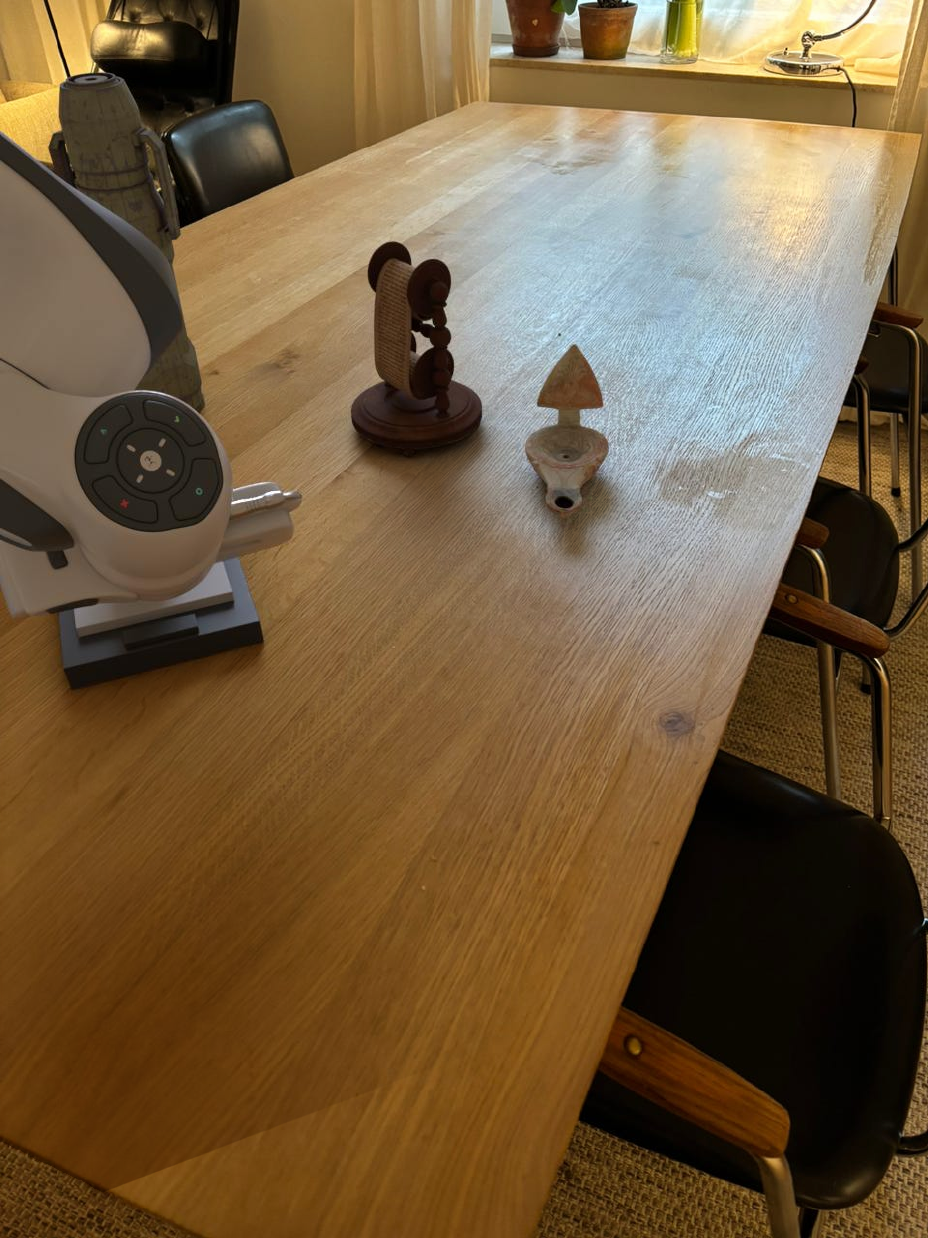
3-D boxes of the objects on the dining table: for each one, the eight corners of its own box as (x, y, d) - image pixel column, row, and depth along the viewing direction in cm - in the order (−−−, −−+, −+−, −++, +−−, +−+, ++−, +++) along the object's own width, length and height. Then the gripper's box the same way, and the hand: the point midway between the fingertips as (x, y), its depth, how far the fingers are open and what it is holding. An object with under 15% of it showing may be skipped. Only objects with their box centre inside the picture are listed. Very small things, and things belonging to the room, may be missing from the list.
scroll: (327, 424, 114) (306, 249, 101) (427, 384, 121) (420, 215, 108) (405, 476, 105) (393, 291, 92) (509, 429, 112) (511, 252, 99)
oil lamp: (607, 428, 112) (614, 344, 105) (605, 538, 96) (613, 448, 89) (530, 424, 113) (533, 342, 106) (515, 533, 97) (517, 444, 90)
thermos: (130, 388, 121) (47, 67, 99) (225, 389, 121) (163, 66, 98) (106, 424, 115) (11, 89, 92) (206, 425, 114) (136, 88, 91)
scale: (71, 690, 81) (59, 659, 79) (59, 578, 93) (49, 549, 90) (264, 642, 85) (258, 611, 83) (230, 540, 97) (224, 511, 95)
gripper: (291, 445, 67) (268, 496, 80) (-31, 524, 60) (2, 565, 73) (320, 533, 67) (293, 570, 80) (0, 622, 60) (28, 646, 73)
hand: (151, 568), depth 76 cm, fingers open, 8 cm apart
